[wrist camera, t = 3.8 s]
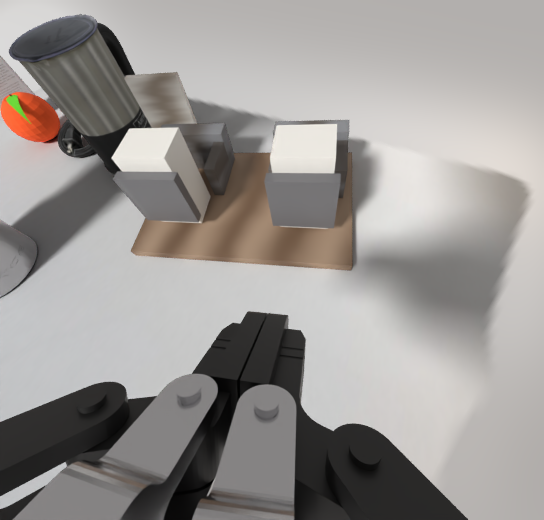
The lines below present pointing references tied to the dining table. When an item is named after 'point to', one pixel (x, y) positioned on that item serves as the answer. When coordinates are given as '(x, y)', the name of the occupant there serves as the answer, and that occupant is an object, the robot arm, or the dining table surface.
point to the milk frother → (83, 83)
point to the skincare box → (10, 81)
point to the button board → (237, 194)
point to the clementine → (30, 117)
